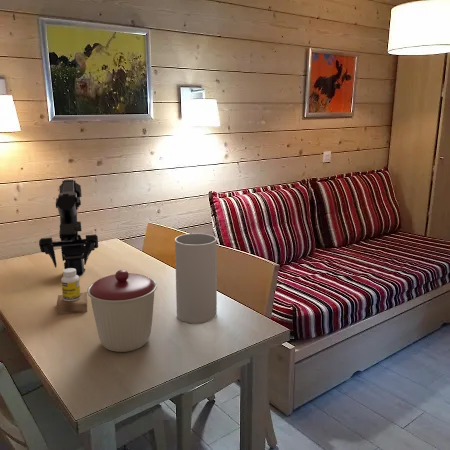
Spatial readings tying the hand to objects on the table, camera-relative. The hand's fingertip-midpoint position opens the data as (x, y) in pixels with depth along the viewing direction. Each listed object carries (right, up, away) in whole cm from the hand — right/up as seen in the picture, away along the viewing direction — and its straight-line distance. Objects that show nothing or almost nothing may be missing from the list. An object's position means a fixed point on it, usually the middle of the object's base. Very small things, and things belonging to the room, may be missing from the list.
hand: (70, 265), depth 142 cm
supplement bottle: (+2, -10, -4) cm, 11 cm away
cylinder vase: (+43, -15, -8) cm, 46 cm away
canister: (+24, -19, -24) cm, 39 cm away
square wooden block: (+2, -13, -3) cm, 14 cm away
